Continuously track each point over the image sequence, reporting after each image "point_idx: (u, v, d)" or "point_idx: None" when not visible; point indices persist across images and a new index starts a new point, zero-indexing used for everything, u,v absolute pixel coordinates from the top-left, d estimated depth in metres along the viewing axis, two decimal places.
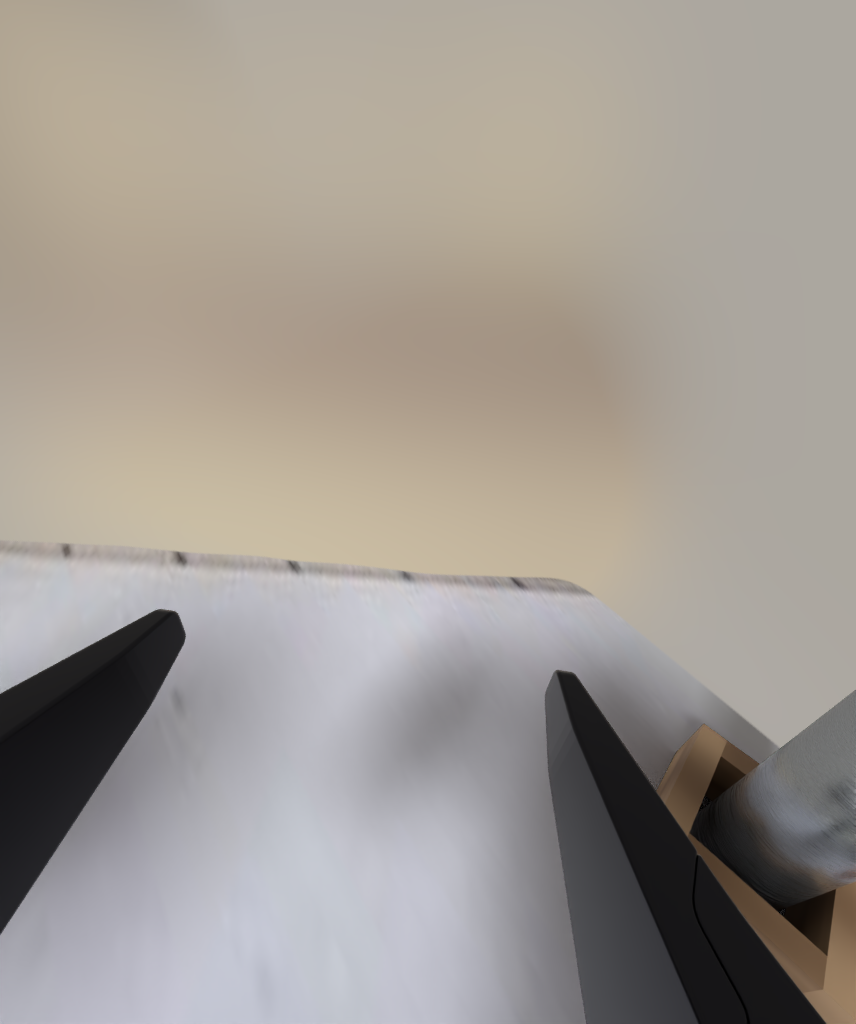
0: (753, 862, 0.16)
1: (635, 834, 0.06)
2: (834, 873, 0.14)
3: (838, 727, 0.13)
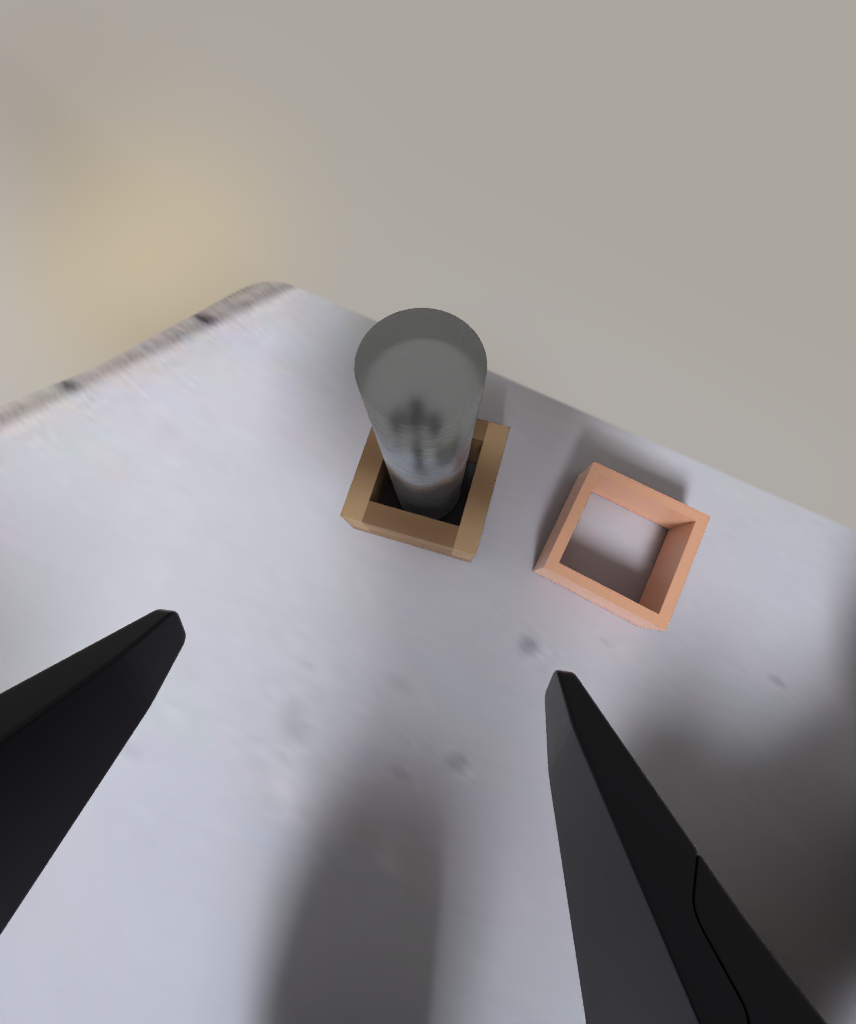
0: (408, 497, 0.20)
1: (635, 834, 0.06)
2: (433, 486, 0.17)
3: None
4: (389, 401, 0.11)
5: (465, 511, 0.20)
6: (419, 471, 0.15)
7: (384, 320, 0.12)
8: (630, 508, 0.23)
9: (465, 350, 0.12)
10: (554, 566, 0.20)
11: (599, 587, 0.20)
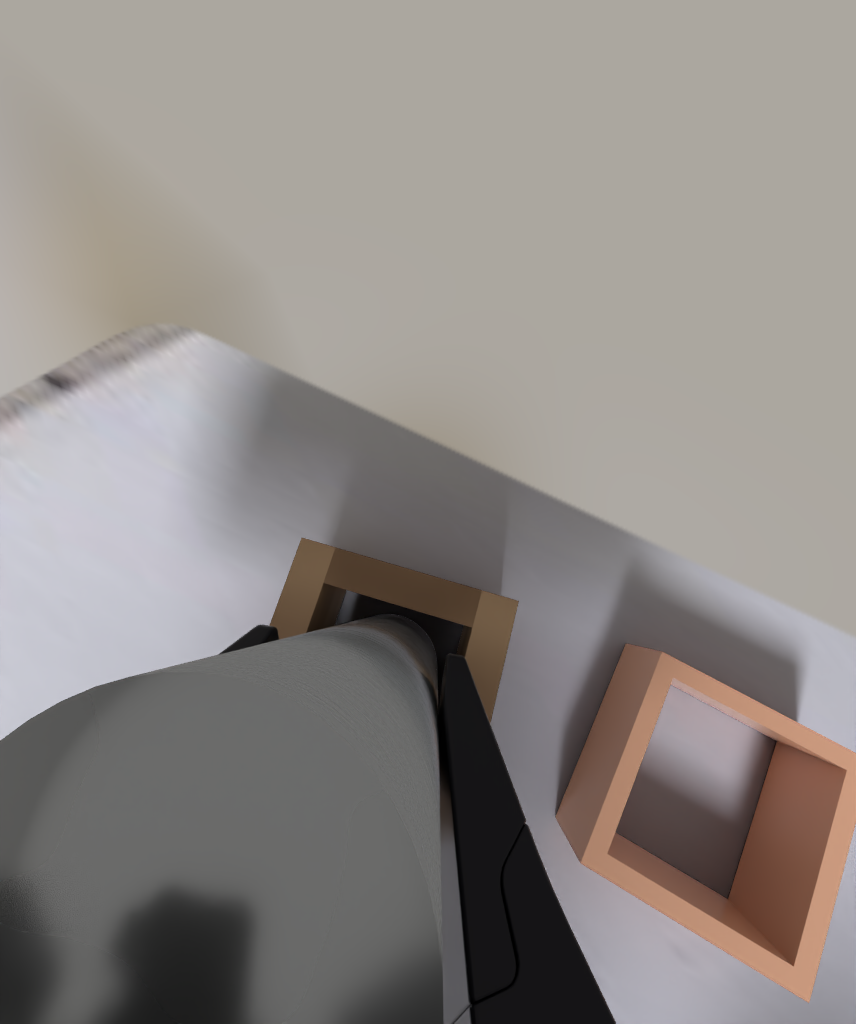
0: None
1: (468, 805, 0.06)
2: None
3: None
4: None
5: None
6: None
7: (26, 731, 0.03)
8: (714, 706, 0.14)
9: (348, 916, 0.03)
10: (599, 861, 0.11)
11: (682, 906, 0.11)
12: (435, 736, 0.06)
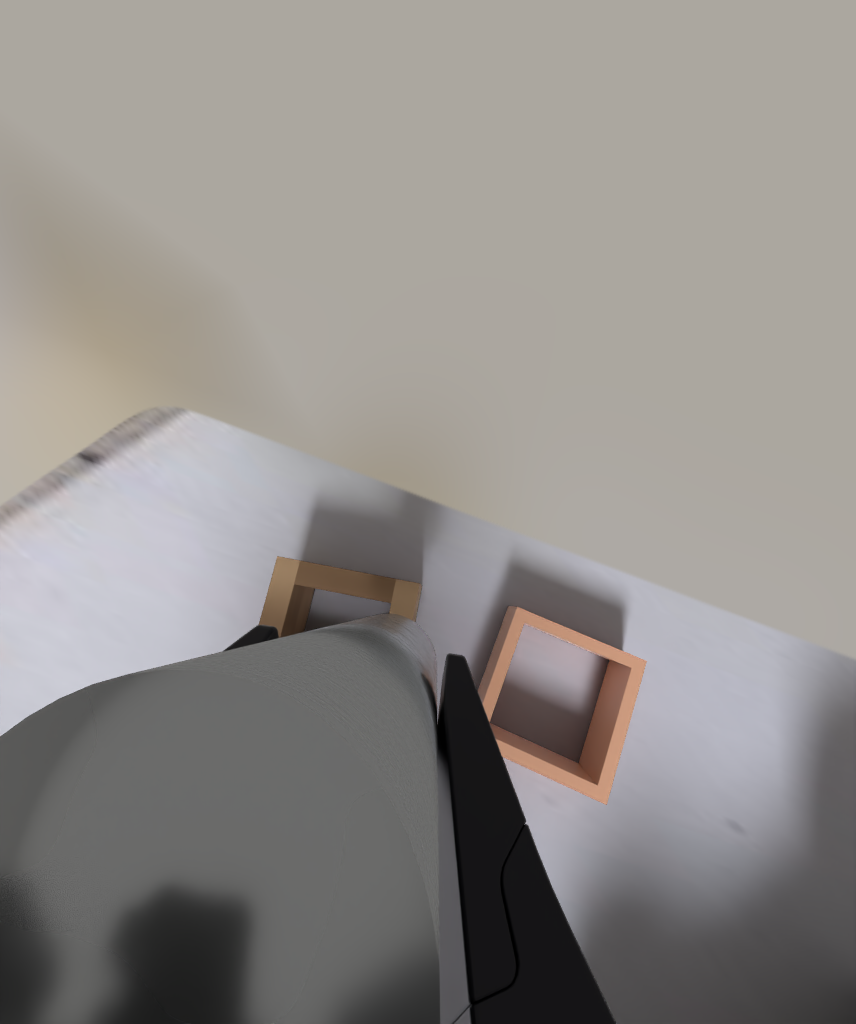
0: None
1: (468, 805, 0.06)
2: None
3: None
4: None
5: None
6: None
7: (23, 729, 0.03)
8: (566, 641, 0.21)
9: (345, 912, 0.03)
10: None
11: (531, 759, 0.18)
12: (433, 734, 0.06)
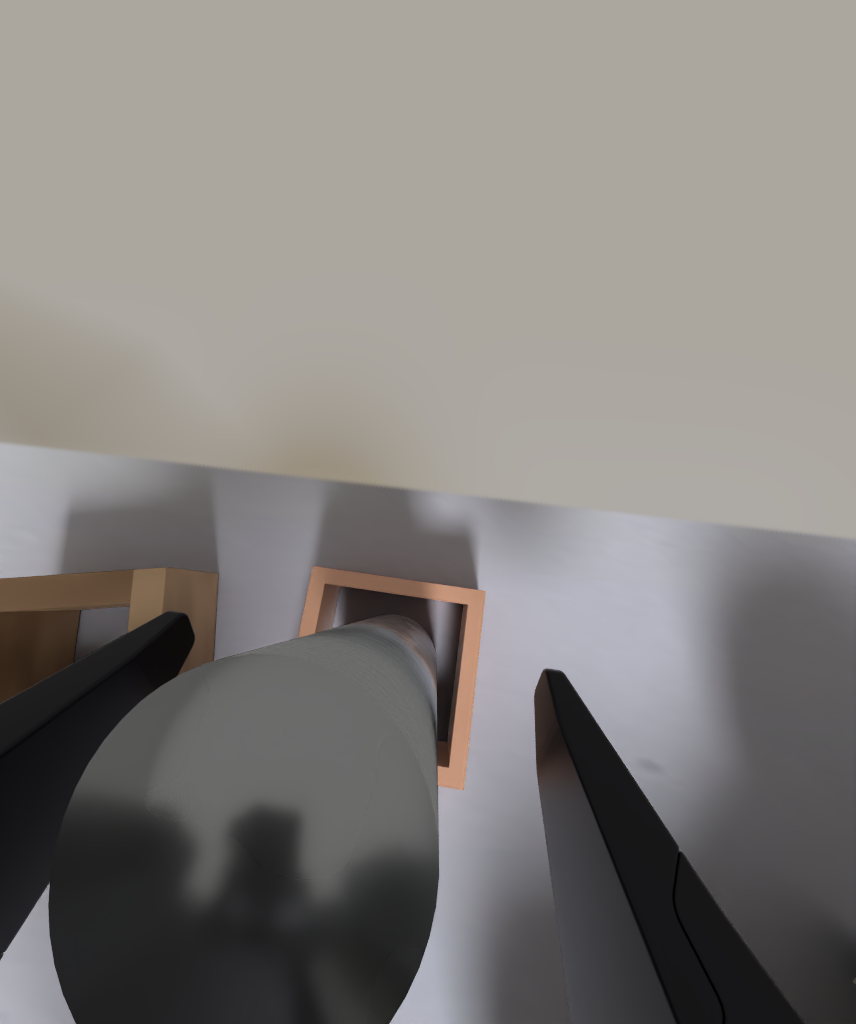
0: None
1: (617, 831, 0.06)
2: None
3: None
4: (135, 1011, 0.04)
5: None
6: None
7: (159, 693, 0.04)
8: None
9: (378, 809, 0.04)
10: None
11: None
12: (434, 713, 0.07)
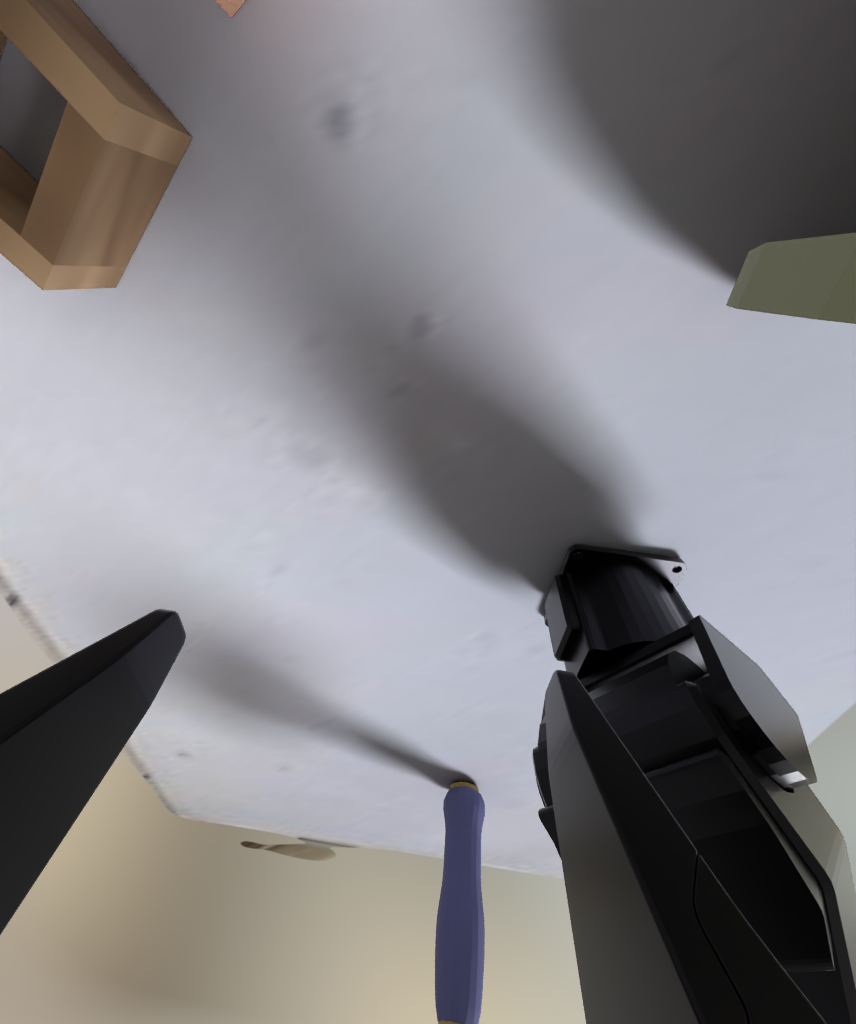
0: None
1: (635, 834, 0.06)
2: None
3: None
4: None
5: (40, 68, 0.11)
6: None
7: None
8: None
9: None
10: None
11: None
12: None
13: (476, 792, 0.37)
